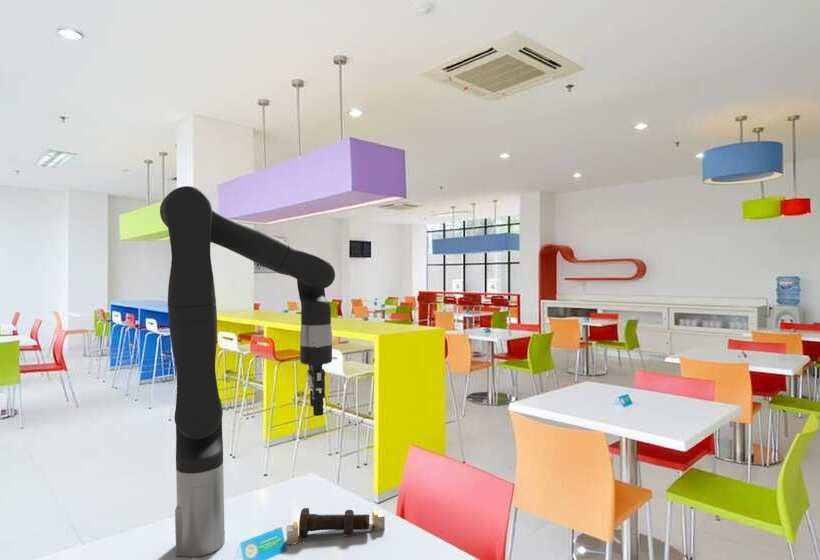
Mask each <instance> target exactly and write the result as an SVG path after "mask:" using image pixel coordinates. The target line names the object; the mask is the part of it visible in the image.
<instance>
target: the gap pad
mask: <svg viewBox="0 0 820 560" xmlns="http://www.w3.org/2000/svg"><path fill="white" fill-rule="evenodd" d="M372 532H376V531H375V529H374V527H373V523H369V529H367V530H365V529H364V530H362V529H361V530H359V529H358V530H356V529H355V530H353V533H352V534H351V535H346V534H345V533H344V530H333V529H332V530H324V531H321V532H314V533H308V534H307V537H301V536H300V535H298V542H299V543H302V544H304V543H303V542H308V543H313V541H314V542H319V541H324V540H331V539H336V538H343V537H347V536H354V535H360V534H366V533H372ZM299 543H298V544H299Z"/></svg>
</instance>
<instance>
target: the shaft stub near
mask: <svg viewBox="0 0 820 560" xmlns="http://www.w3.org/2000/svg"><path fill="white" fill-rule="evenodd" d="M298 536H299V524H298V522H297V521H293V523H292V524H289V525H286V543H287V544H288V545H287V546H290V545H289V544H294V543H298ZM298 544H299V543H298ZM294 545H295V544H294Z"/></svg>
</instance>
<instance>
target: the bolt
mask: <svg viewBox="0 0 820 560" xmlns="http://www.w3.org/2000/svg"><path fill="white" fill-rule="evenodd" d="M369 524H370V514H367V513H366V514H361V513H360V514H355V513H354V510H353V509H346V510H345V511H344V514H340V513H339V514H332V513H331V514H326V513H325V514H316V513H310V508H309V507H303V508H302V509H301V511H300V515H299V522H298V536H301V537H307V534H309V532H315V531H321V532H324V531H331V530H344V533H345V534H346V535H349V536H352V535H351V534H352V533H353V530H355V529H356V530H358V529H359V530H361V529H362V530H364V529H365V530H367V529H369Z"/></svg>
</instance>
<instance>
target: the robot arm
mask: <svg viewBox="0 0 820 560" xmlns="http://www.w3.org/2000/svg"><path fill="white" fill-rule="evenodd" d="M210 201H211V200H210V199H209V198H208V197H207V195H206V194H205V193H204V192H203V191H202V190H200V189H199V188H197V187H194V186H189V185H188V186H187V185H186V186H185V185H183V186H179V187H177V188H175V189H173V190H171V191H170V192H169V193H168V194H167V195H166V196H165V197H164V199H163V200H162V201H161V203H160V207H159V215H160V218H161V221H162V222H163V224H164V225H165V226H166V227H167V230H168V235H169V243H170V252H171V261H170V262H171V263H170V264H171V265H170V272H169V278H168V288H167V312H168V313H167V314H168V316H167V317H168V326H169V335H170V344H171V349H172V355H173V359H174V364H175V370H176V371H175V373H176V394H175V395H176V399H175V409H174V423H175V474H176V475H175V477H176V479H175V480H176V481H175V482H176V486H175V487H176V507H175V510H174V519H175V520H174V523H175V524H174V525H175V527H174V528H175V532H174V534H175V556H176V557H181V556H182V557H188V558H197V557H203V556H206V555H210V554H212V553H215V552H216V551H217V550H219V549H220V548H222V547H223V545H224V544H225V542H226V541H225V540H226V536H225V534H226V529H225V492H224V491H225V490H224V488H225V484H224V482H225V481H224V478H225V477H224V444H223V443H224V442H223V413H224V412H223V405H222V400H221V397H220V394H219V388H218V382H217V381H218V380H217V373H216V358H217V357H216V356H217V346H218V345H217V344H218V342H217V340H218V316H217V315H218V314H217V312H218V311H217V298H216V290H215V282H214V281H215V280H214V273H213V266H212V257H211V255H212V254H211V243H212V244H215V245H217V246H220V247H221V248H225V249H227V250H229V251H231V252H233V253H236V254H238V255H240V256H242V257H244V258H246V259H248V260H250V261H252V262H254V263H255V264H258V265H261V266H262V267H265V268H266V269H268V270H271V271H273V272H275V273H278V274H280V275H286V276H289V277H292V278H294V279H296V285H297V289H298V290H297V291H298V298H299V301H300V306H301V308H300V309H301V310H300V319H301V320H300V334H299V358H300V359H299V361H300V363H301V364H302V365H308V369H307V373H306V374H307V385H308V386H309V387H308V389H309V395H310V396H309V399H310V400H309V401H310V402H309V403H310V404H309V405H310V406H311V407H312V411H313V412H312V413H313V416H315V417H317V416H319V417H320V416H323V415H324V399H325V397H326V391H325V389H326V376H327V375H326V370H325V369H324V368H323V366H324V365H327V364H330V363H332V361H333V331H332V310H331V309H332V307H331V303H330V300H329V301H328V299H327V298H326V289H327V288H328V287H330V286H332V284H333V283H334V281H335V279H336V271H335V269H334V267H333V265H332V264H331V263H330V261H329V262H328V261H327V260H326V259H324V258H322V257H320V256H317V255H315V254H312V253H309V252H307V251H304V250H301V249H298V248H296V247H294V246H293V245H291V244H289V243H287V242H285V241H283V240H281V239H279V238H277V237H275V236H273V235H271V234H269V233H266V232H264V231H261V230H258V229H255V228H252V227H248V226H246V225H243V224H240V223H238V222H235V221H233V220H232V219H229V218H227V217H226V216H224V215H221V214H220V213H218V212H216V211H215V210H213V208H212V203H211V202H210Z"/></svg>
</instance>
